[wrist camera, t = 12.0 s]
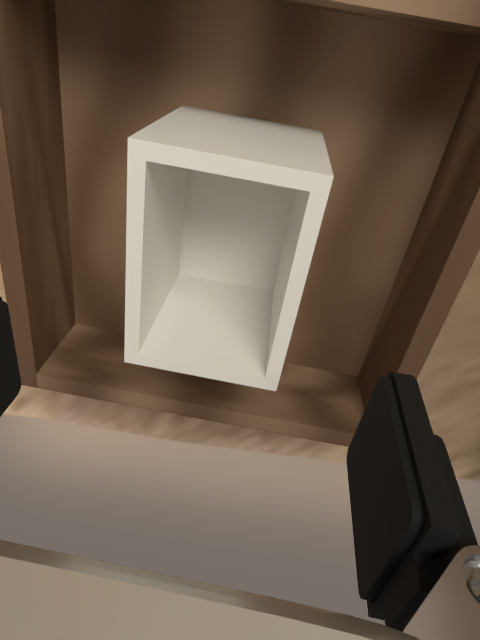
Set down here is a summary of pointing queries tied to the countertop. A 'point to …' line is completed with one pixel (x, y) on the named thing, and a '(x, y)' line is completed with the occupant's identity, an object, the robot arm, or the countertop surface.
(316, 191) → the box
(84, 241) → the big crate
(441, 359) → the countertop surface
